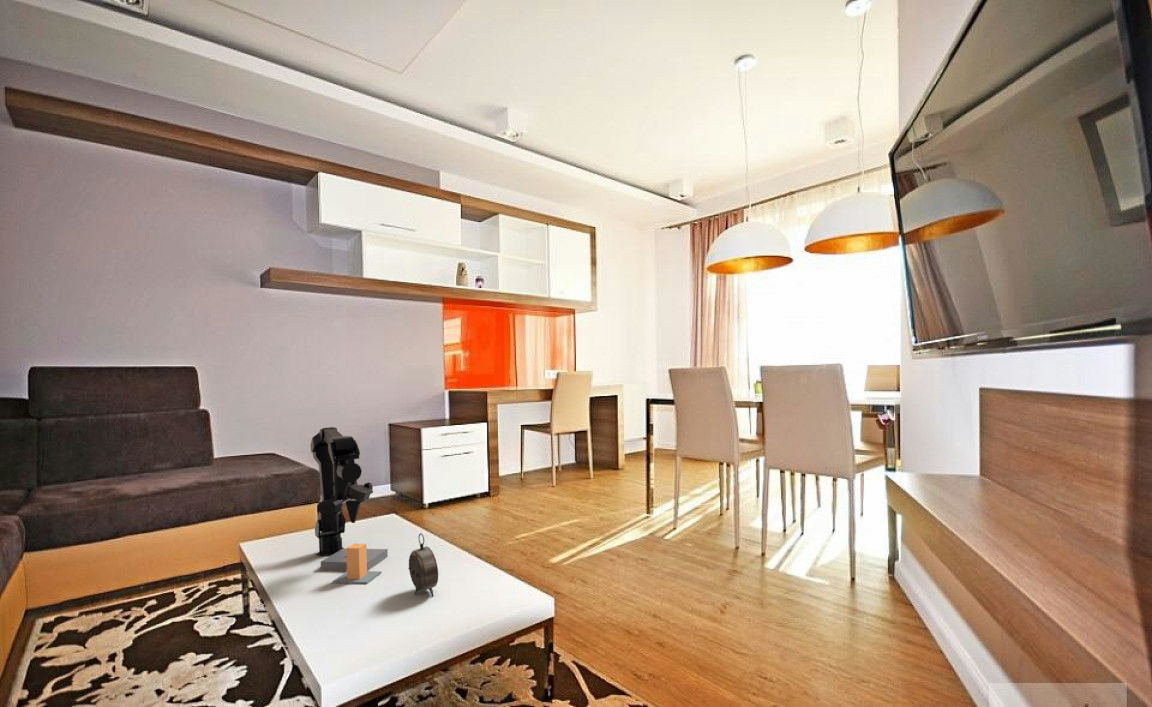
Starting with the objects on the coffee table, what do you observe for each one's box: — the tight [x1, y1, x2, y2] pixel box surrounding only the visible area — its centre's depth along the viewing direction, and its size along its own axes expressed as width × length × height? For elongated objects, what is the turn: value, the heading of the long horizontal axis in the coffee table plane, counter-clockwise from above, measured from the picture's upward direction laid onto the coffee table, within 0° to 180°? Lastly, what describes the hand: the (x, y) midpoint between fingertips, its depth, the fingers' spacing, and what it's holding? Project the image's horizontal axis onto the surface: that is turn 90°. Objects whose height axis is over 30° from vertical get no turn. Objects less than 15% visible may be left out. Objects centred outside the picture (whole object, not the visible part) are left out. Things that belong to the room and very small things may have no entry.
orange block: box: [346, 543, 368, 579], centre depth 156 cm, size 4×4×9 cm
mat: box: [332, 570, 382, 585], centre depth 156 cm, size 11×8×1 cm
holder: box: [320, 547, 389, 571], centre depth 169 cm, size 16×12×2 cm
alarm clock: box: [408, 533, 439, 597], centre depth 144 cm, size 11×5×16 cm, turn 38°
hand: (344, 527), depth 164 cm, fingers open, 9 cm apart
